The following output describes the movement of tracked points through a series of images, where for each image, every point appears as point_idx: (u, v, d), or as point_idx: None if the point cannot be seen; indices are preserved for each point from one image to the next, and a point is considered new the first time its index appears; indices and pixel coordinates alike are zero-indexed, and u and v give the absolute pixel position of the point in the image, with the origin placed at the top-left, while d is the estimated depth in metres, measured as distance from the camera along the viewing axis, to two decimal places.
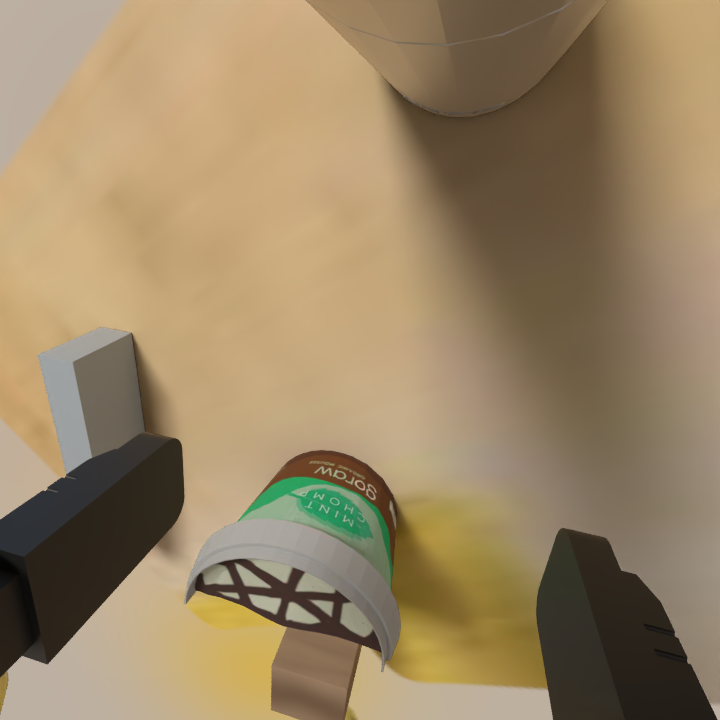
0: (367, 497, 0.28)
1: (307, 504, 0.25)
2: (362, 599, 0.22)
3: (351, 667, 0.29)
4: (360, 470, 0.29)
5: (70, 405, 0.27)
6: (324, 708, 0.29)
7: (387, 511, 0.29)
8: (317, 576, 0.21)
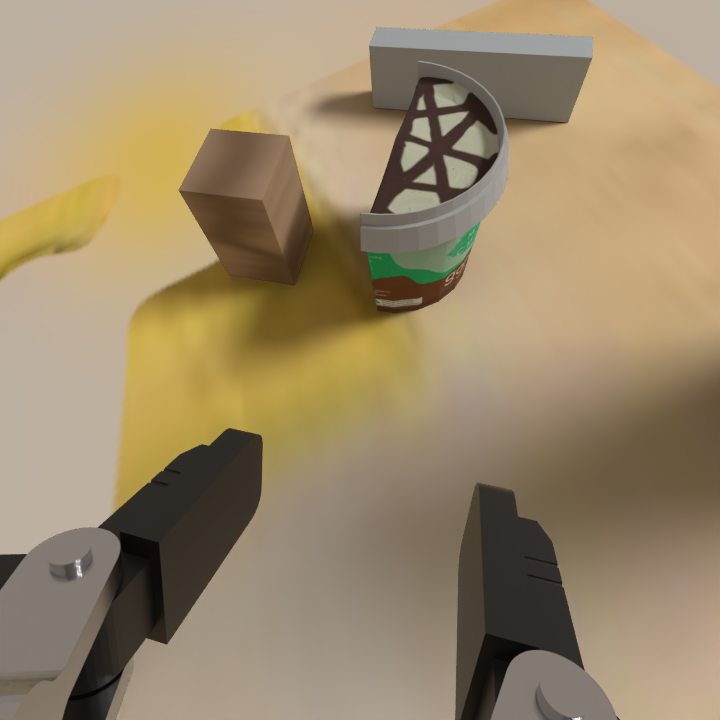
0: (453, 271, 0.27)
1: None
2: (457, 205, 0.21)
3: (268, 216, 0.25)
4: (458, 277, 0.29)
5: (545, 48, 0.32)
6: (223, 176, 0.25)
7: (425, 291, 0.27)
8: (494, 165, 0.21)
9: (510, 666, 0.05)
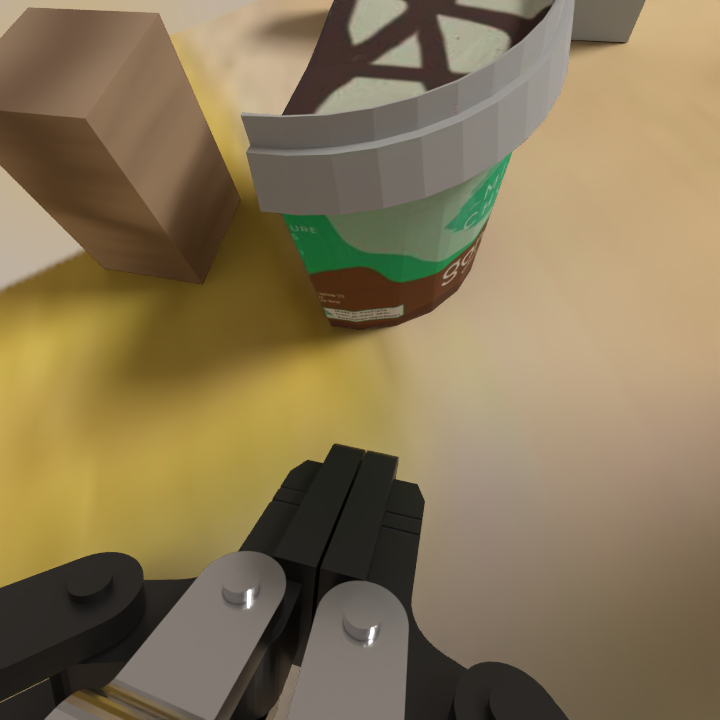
0: (457, 260, 0.15)
1: None
2: (468, 101, 0.09)
3: (113, 156, 0.13)
4: (465, 272, 0.17)
5: None
6: (26, 81, 0.13)
7: (408, 295, 0.16)
8: (551, 13, 0.09)
9: (329, 592, 0.06)
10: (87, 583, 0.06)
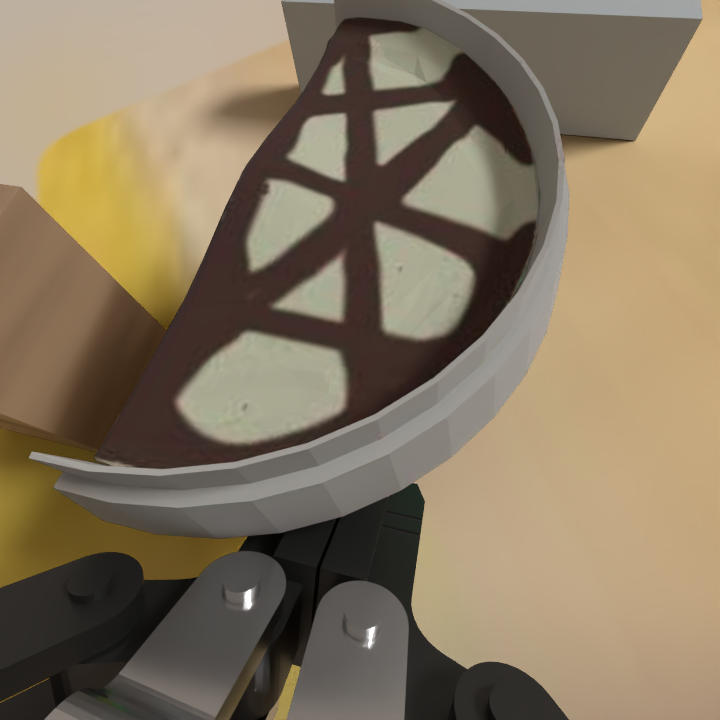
0: None
1: None
2: (399, 422, 0.06)
3: None
4: None
5: (608, 1, 0.17)
6: None
7: None
8: (531, 280, 0.06)
9: (328, 592, 0.06)
10: (87, 583, 0.06)
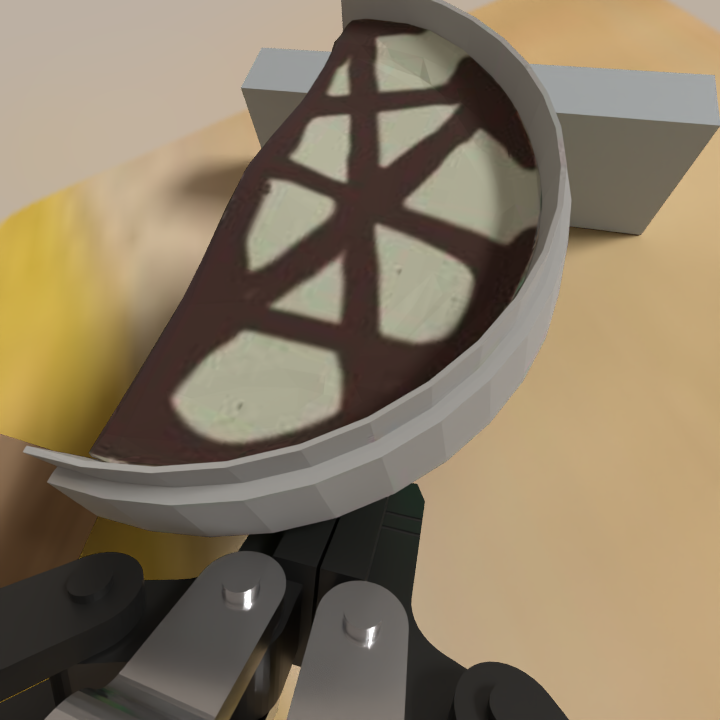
0: None
1: None
2: (393, 425, 0.06)
3: None
4: None
5: (610, 99, 0.14)
6: None
7: None
8: (529, 285, 0.06)
9: (328, 592, 0.06)
10: (87, 583, 0.06)
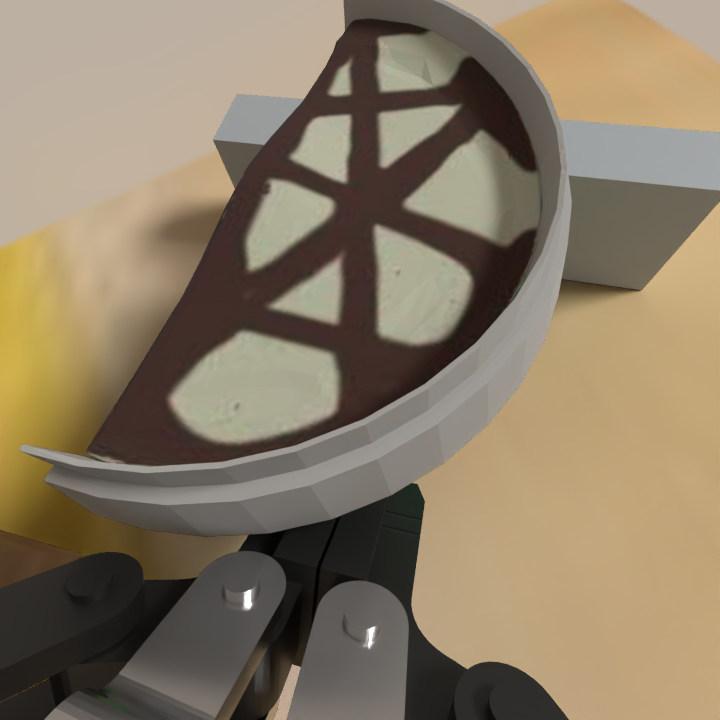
0: None
1: None
2: (389, 428, 0.06)
3: None
4: None
5: (609, 159, 0.13)
6: None
7: None
8: (527, 288, 0.06)
9: (328, 592, 0.06)
10: (87, 583, 0.06)
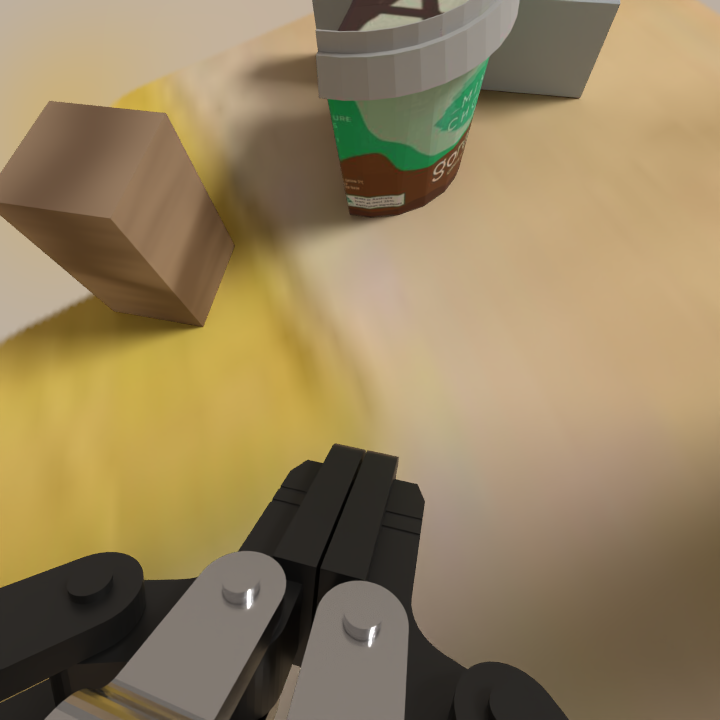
0: (443, 159, 0.22)
1: None
2: (449, 28, 0.15)
3: (131, 241, 0.16)
4: (450, 175, 0.24)
5: None
6: (55, 178, 0.16)
7: (408, 185, 0.22)
8: None
9: (329, 592, 0.06)
10: (87, 583, 0.06)
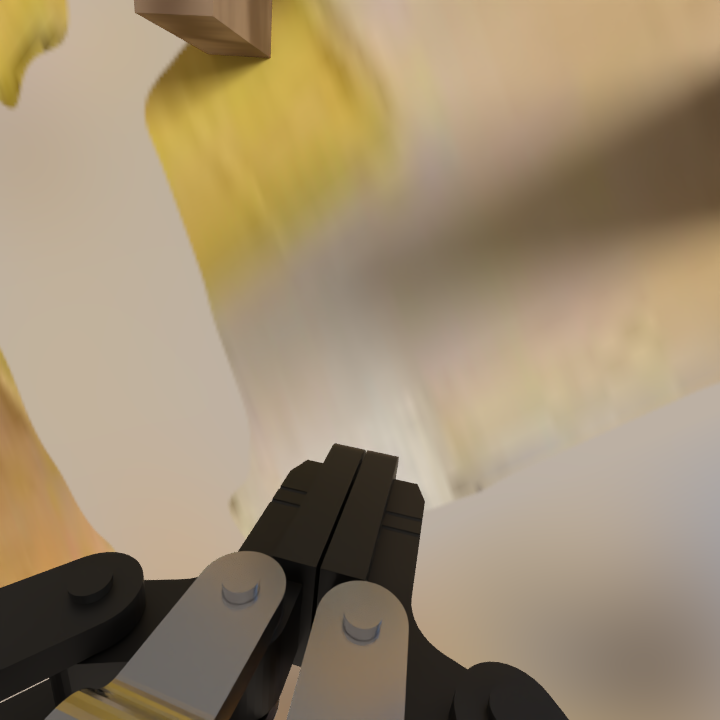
0: None
1: None
2: None
3: (224, 23, 0.26)
4: None
5: None
6: None
7: None
8: None
9: (329, 592, 0.06)
10: (87, 583, 0.06)
